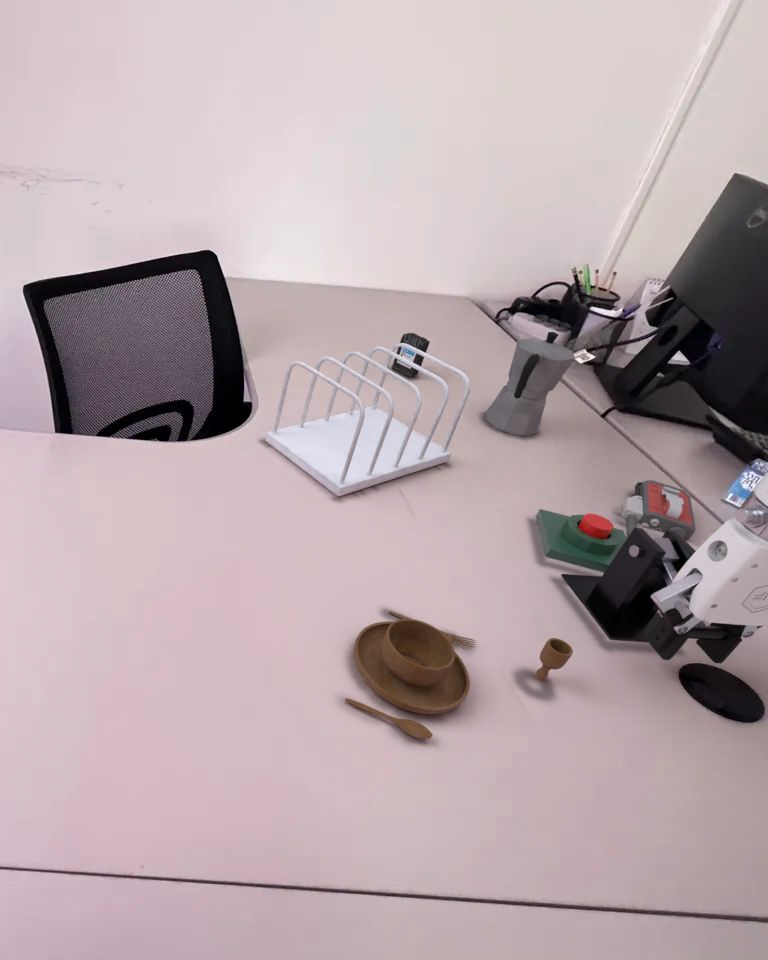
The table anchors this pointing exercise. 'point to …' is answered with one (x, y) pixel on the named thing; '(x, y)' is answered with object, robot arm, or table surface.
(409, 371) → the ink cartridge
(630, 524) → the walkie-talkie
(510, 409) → the coffeepot
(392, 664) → the place setting
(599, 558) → the control box
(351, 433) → the file sorter
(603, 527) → the button
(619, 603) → the bracket
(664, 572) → the lever
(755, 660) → the table surface
